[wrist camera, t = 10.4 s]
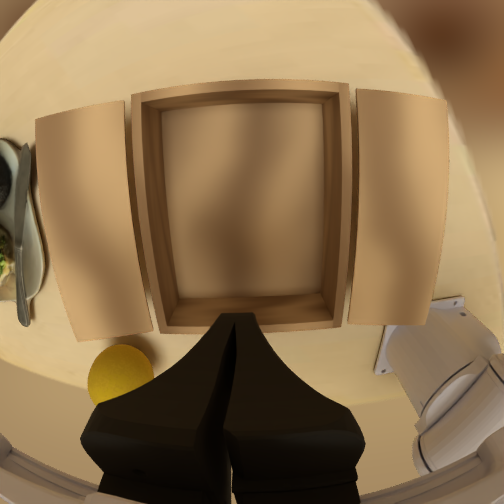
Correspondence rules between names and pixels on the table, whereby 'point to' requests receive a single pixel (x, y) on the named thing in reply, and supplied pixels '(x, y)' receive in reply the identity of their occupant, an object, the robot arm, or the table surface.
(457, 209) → the table surface
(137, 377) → the lemon
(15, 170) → the avocado toast plate
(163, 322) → the carton
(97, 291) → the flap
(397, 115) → the panel
